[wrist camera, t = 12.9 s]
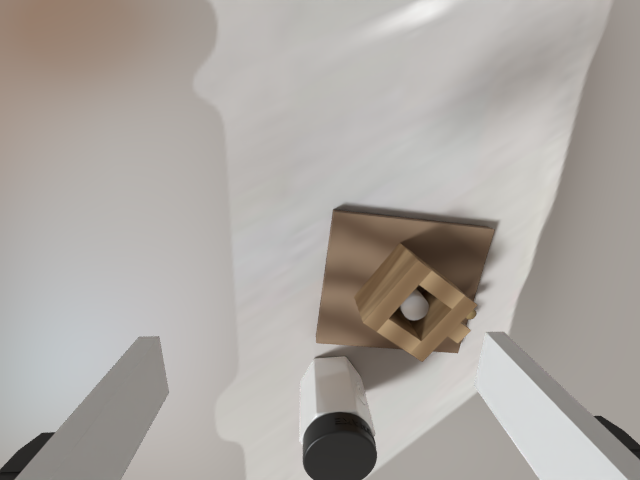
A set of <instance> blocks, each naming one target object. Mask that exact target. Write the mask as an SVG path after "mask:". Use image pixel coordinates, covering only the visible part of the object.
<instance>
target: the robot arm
mask: <svg viewBox="0 0 640 480" xmlns="http://www.w3.org/2000/svg"><path fill="white" fill-rule="evenodd" d="M474 386H475V388H476V389H477V391H478V392H479V393H480V395H481V396H482V398H483V399H484V401H485V402H486V403H487V405H488V406H489V408H490V409H491V411H492V412H493V414H494V415H495V416H496V418H497V419H498V421H499V422H500V424H501V425H502V426H503V428H504V429H505V431H506V432H507V434H508V435H509V436H510V438H511V439H512V441H513V442H514V443H515V445H516V446H517V448H518V449H519V451H520V452H521V454H522V455H523V456H524V458H525V459H526V461H527V462H528V464H529V465H530V466H531V468H532V469H533V471H534V472H535V474H536V475H537V476H538V478H539V479H540V480H640V445H639V444H638V443H637V442H636V441H635V440H634V439H632V438H631V437H630V436H629V435H628V434H627V433H626V432H625V431H623V430H622V429H620V428H619V427H617V426H616V425H614V424H612V423H611V422H609V421H608V420H606V419H605V418H603V417H602V416H593V415H591V414H590V413H589V412H588V411H587V410H586V409H585V408H584V407H583V406H582V405H581V404H580V403H579V402H577V400H575V398H573V397H572V396H571V395H570V394H569V393H568V392H567V391H566V390H565V389H564V388H563V387H562V386H561V385H560V384H559V383H558V382H557V381H555V380H554V379H553V378H552V377H551V376H550V375H549V374H548V373H547V372H546V371H544V369H543V368H542V367H541V366H539V365H538V364H537V363H536V362H535V361H534V360H533V359H532V358H531V357H530V356H529V355H528V354H527V353H526V352H525V351H523V350H522V349H521V348H520V347H519V346H518V345H517V344H516V343H515V342H514V341H513V340H512V339H511V338H510V337H509V336H508V335H507V334H506V333H504V332H486V333H485V338H484V342H483V347H482V351H481V356H480V360H479V365H478V369H477V374H476V379H475V383H474ZM168 393H169V390H168V384H167V378H166V373H165V367H164V362H163V355H162V350H161V344H160V338H159V336H158V337H157V336H155V337H138V338H137V340H136V341H135V342H134V343H133V344H132V345H131V347H130V348H129V349H128V350H127V351H126V352H125V354H124V355H123V356H122V357H121V358H120V359H119V360H118V362H117V363H116V364H115V365H114V366H113V367H112V369H110V371H109V372H108V373H107V374H106V375H105V376H104V377H103V379H102V380H101V381H100V382H99V383H98V384H97V385H96V387H95V388H94V389H93V390H92V391H91V392H90V394H89V395H88V396H87V397H86V398H85V399H84V400H83V402H82V403H81V404H80V405H79V406H78V408H76V410H75V411H74V412H73V413H72V414H71V415H70V416H69V418H68V419H67V420H66V421H65V422H64V423H63V425H62V426H61V427H60V428H59V429H58V430H57V431H56V432H52V433H41V434H40V435H39V436H37V437H36V438H35V439H33V440H32V441H30V442H29V443H28V444H26V445H25V446H24V447H22V448H21V449H20V450H18V451H17V452H16V453H15V454H14V456H13V457H12V458H11V459H10V460H9V461H8V462H7V463H6V464H5V465H4V466H3V467H2V468H1V469H0V480H121V478H122V476H123V475H124V473H125V471H126V469H127V467H128V466H129V464H130V462H131V460H132V459H133V457H134V455H135V453H136V451H137V449H138V448H139V446H140V444H141V442H142V440H143V439H144V437H145V435H146V433H147V431H148V430H149V428H150V426H151V424H152V422H153V421H154V419H155V417H156V415H157V413H158V411H159V410H160V408H161V406H162V404H163V402H164V401H165V399H166V397H167V395H168Z"/></svg>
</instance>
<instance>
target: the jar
mask: <svg viewBox="0 0 640 480" xmlns="http://www.w3.org/2000/svg"><path fill="white" fill-rule="evenodd" d="M374 436H375V430H374V426H373V422H372V418H371V414H370V410H369V406H368V403H367V399H366V395H365V391H364V387H363V383H362V379H361V376H360V375H359V374H358V372H357V371H356V370H355V368H354V367H353V366H352V364H351V363H350V362H349V360H348V359H347V358H346V357H345V356H340V357H327V358H315V359H313V361H312V363H311V364H310V366H309V368H308V369H307V371H306V373H305V374H304V376H303V378H302V379H301V381H300V418H299V441H300V442H301V443H302V445H303V465H304V469H305V471H306V472H307V474H308V475H309V476H310V477H311V478H312V479H313V480H362V479H363V478H365V477H366V476H367V475H368V474H369V473H370V472H371V471H372V469H373V468H374V466H375V464H376V460H377V451H376V446H375V445H376V444H375V440H374Z"/></svg>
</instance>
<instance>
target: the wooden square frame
mask: <svg viewBox="0 0 640 480" xmlns="http://www.w3.org/2000/svg"><path fill="white" fill-rule="evenodd" d="M418 285H420V286H421V287H423V288H424V289H425V291H424V292H423V293H422V296H423V297H424V298H425V299H426V301H427V302H428V304H429V310H428V312H427V314H426V315H425V316H424V317H423V318H421V319H419V320H409V319H407V318H406V317H405V316H404V314H403V313H402V312H401V311H400V310H399V309H398V308H399V307H400V305H401V304H402V303H403V302H404V301H405V300H406V299H407V298H408V297H409V295H410V294H411V293H412V292H413V291H414V290H415V289H416V288H417V287H418ZM354 298H355V301H356V304H357V307H358V310H359V313H360V316H361V319H362V322H363V323H364V324H366V325H367V326H369V327H370V328H372V329H373V330H375V331H376V332H378V333H379V334H381V335H382V336H384V337H385V338H387V339H388V340H390V341H391V342H393V343H394V344H396V345H397V346H399V347H400V348H402V349H403V350H405V351H406V352H408V353H410V354H411V355H413V356H414V357H416V358H417V359H419V360H420V361H422V362H423V361H424V360H425V359H426V358H427V357H428V356H429V355H430V354H431V353H432V352H433V351H434V350H435V349H436V347H437V346H438V345H439V344H440V343H441V342H442V341H443V340H444V339H445V338H446V337H447V336H448V337H449V338H451V339H452V340H453V341H455V342H456V343H459V342H460V341H461V340H462V339H463V338H464V337H465V336H466V335H467V334H468V333H469V332H470V331H471V330H470V329H469V328H468V327H467V326H466V325H465V324H464V323H463V322H462V321H463V320H464V319H465V318H466V317H467V316H468V315H469V314H470V313H471V312H472V311H473V309H474V308H475V307H476V306H477V304H476V303H474V302H473V301H472V300H471V299H470V298H469V297H468V296H466V295H465V294H464V293H463V292H462V291H461V290H460V289H459V288H457V287H456V286H455V285H454V284H453V283H452V282H451V281H449V280H448V279H447V278H445V277H444V276H443V275H441V274H440V273H439V272H437V271H436V270H435V269H434V268H432V267H431V266H430V265H428V264H427V263H426V262H424V261H423V260H422V259H420V258H419V257H418V256H417V255H415V254H414V253H413V252H411V251H410V250H409V249H407V248H406V247H405V246H403V245H402V244H401V243H399V244H398V246H397V247H396V248H395V249H394V250H393V251H392V253H391V254H390V255H389V256H388V257H387V258H386V260H385V261H384V262H383V263H382V264H381V265H380V267H379V268H378V269H377V270H376V271H375V273H374V274H373V275H372V276H371V277H370V278H369V280H368V281H367V282H366V283H365V284H364V285H363V287H362V288H361V289H360V290H359V291H358V292H357V294H356V295H355V296H354Z"/></svg>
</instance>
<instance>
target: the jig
mask: <svg viewBox="0 0 640 480" xmlns="http://www.w3.org/2000/svg"><path fill="white" fill-rule="evenodd" d="M494 231H495V230H494V229H492V228H490V227H486V226H477V225H468V224H459V223H450V222H441V221H432V220H423V219H414V218H405V217H396V216H387V215H378V214H369V213H360V212H351V211H342V210H333V214H332V222H331V229H330V236H329V244H328V251H327V258H326V266H325V273H324V280H323V288H322V295H321V302H320V310H319V317H318V324H317V332H316V343H322V344H336V345H350V346H364V347H378V348H392V349H402V348H400V347H399V346H397V345H396V344H394V343H393V342H391V341H390V340H388V339H387V338H385V337H384V336H382V335H381V334H379V333H378V332H376V331H375V330H373V329H372V328H370V327H369V326H367V325H366V324H364V323H363V322H362V319H361V316H360V313H359V310H358V307H357V304H356V301H355V298H354V296H355V295H356V294H357V292H358V291H359V290H360V289H361V288H362V287H363V285H364V284H365V283H366V282H367V281H368V280H369V278H370V277H371V276H372V275H373V274H374V273H375V271H376V270H377V269H378V268H379V267H380V265H381V264H382V263H383V262H384V261H385V260H386V258H387V257H388V256H389V255H390V254H391V253H392V251H393V250H394V249H395V248H396V247H397V246H398V244H399V243H401V244H402V245H403V246H405V247H406V248H407V249H409V250H410V251H411V252H413V253H414V254H415V255H417V256H418V257H419V258H420V259H422V260H423V261H424V262H426V263H427V264H428V265H430V266H431V267H432V268H434V269H435V270H436V271H437V272H439V273H440V274H441V275H443V276H444V277H445V278H447V279H448V280H449V281H451V282H452V283H453V284H454V285H455V286H456V287H457V288H459V289H460V290H461V291H462V292H463V293H464V294H465V295H466V296H468V297H469V298H470V299H471V300H472V301H474V298H475V294H476V291H477V287H478V284H479V281H480V277H481V274H482V271H483V267H484V264H485V261H486V257H487V254H488V251H489V247H490V244H491V241H492V237H493V234H494ZM424 291H425V289H424V288H423V287H421V286H420V285H418V287H417V288H416V289H415V290H414V291H413V292H412V293H411V294H410V295H409V297H408V298H407V299H406V300H405V301H404V302H403V303H402V304H401V305H400V307H399V308H398V309H399V310H400V311H401V312H402V313H403V314H404V316H405V317H406V318H407V319H409V320H419V319H421V318H423V317H424V316H425V315H426V314H427V312H428V310H429V304H428V302H427V301H426V299H425V298H424V297H423V296H422V293H423V292H424ZM475 316H476V311H475V310H474V309H473V311H472V312H471V313H470V314H469V315H468V316H467V317H466V318H465V319H464V320H463V321H462V322H463V323H464V324H465V325H466V324H467V321H468V319H473V318H474V317H475ZM461 341H462V340H461ZM461 341H460V342H459V343H456V342H455V341H453V340H452V339H451V338H449V337H448V336H447V337H446V338H445V339H444V340H443V341H442V342H441V343H440V344H439V345H438V346H437V347H436V349H435V350H434V352H448V353H458V351H459V348H460V344H461Z"/></svg>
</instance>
